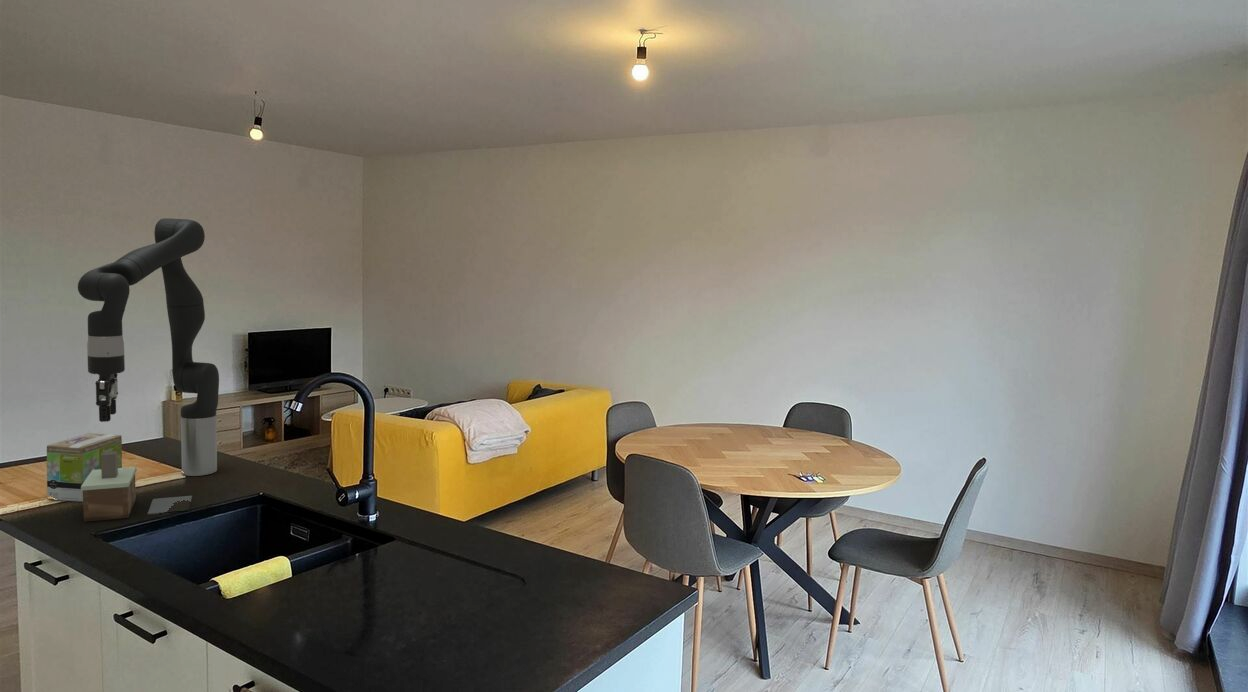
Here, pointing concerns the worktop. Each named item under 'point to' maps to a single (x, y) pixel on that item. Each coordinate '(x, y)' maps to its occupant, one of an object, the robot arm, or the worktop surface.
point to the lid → (109, 474)
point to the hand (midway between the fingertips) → (108, 417)
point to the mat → (165, 504)
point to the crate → (109, 503)
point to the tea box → (77, 463)
